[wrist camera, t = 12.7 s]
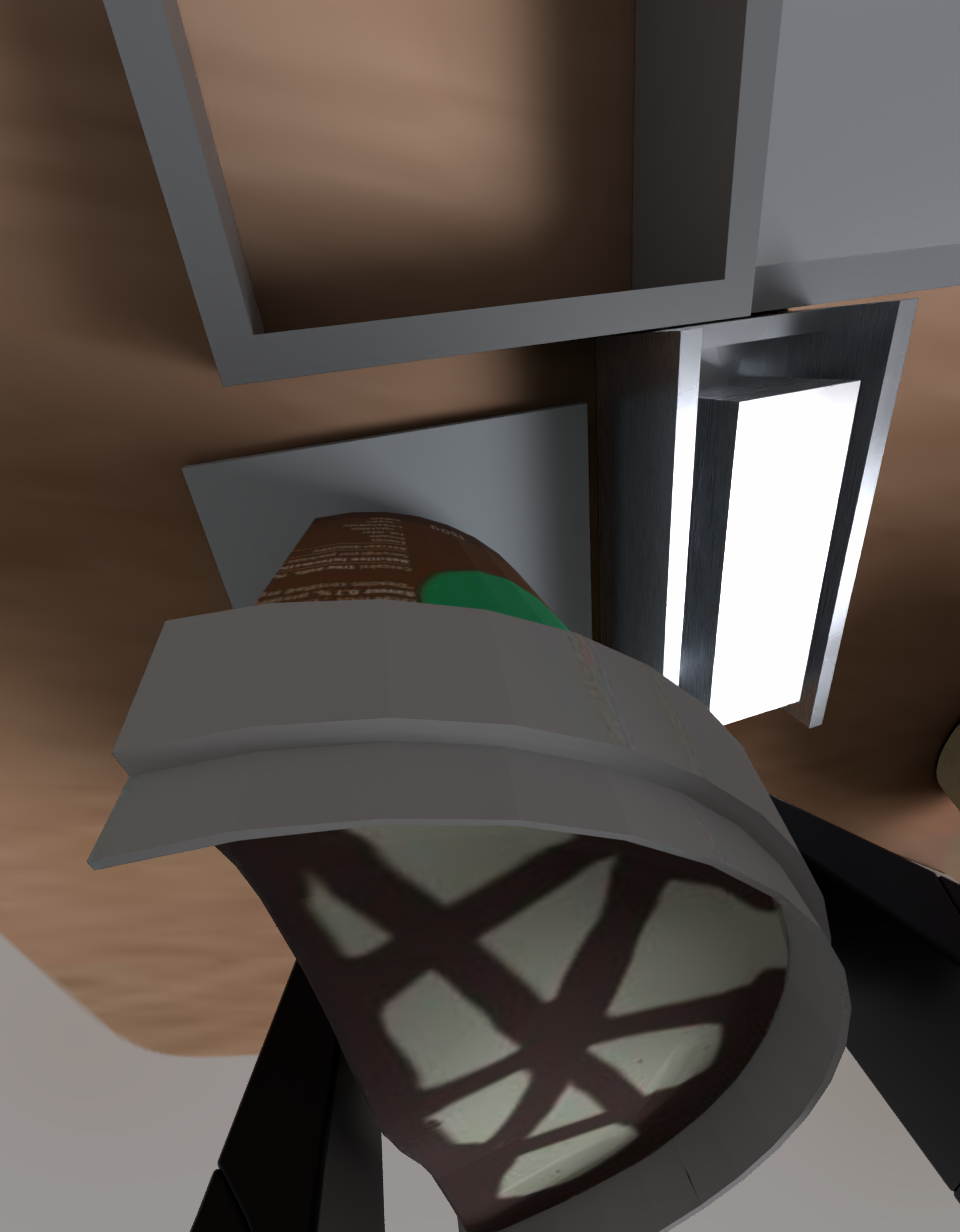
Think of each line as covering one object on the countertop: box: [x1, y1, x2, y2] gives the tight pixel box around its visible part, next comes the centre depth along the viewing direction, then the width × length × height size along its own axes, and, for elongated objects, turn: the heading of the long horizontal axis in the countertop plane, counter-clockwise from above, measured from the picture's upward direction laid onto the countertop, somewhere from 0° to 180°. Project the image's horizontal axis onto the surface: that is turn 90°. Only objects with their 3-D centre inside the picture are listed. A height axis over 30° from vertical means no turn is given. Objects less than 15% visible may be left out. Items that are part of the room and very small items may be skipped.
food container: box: [87, 512, 852, 1232], centre depth 10 cm, size 12×6×10 cm, turn 11°
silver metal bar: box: [678, 377, 861, 725], centre depth 15 cm, size 3×9×3 cm, turn 7°
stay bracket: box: [597, 298, 918, 728], centre depth 16 cm, size 6×12×4 cm, turn 7°
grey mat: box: [182, 402, 592, 640], centre depth 16 cm, size 10×13×1 cm
